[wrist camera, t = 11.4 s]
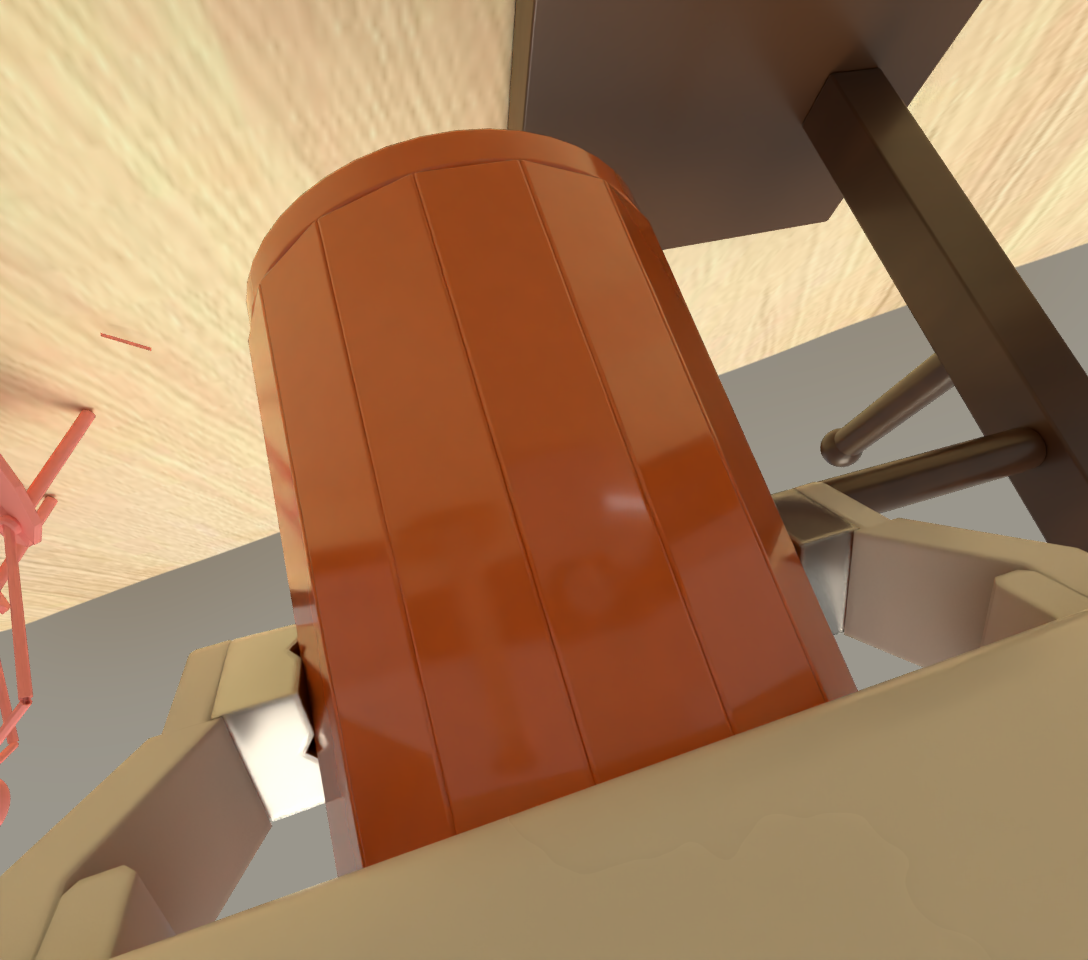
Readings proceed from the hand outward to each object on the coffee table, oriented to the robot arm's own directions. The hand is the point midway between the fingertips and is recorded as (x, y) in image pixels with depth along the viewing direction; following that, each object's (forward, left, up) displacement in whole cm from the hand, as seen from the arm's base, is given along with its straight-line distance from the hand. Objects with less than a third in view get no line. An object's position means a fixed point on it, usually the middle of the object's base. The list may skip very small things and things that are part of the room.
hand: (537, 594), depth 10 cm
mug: (+2, 0, -5) cm, 5 cm away
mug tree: (+6, +12, -16) cm, 21 cm away
